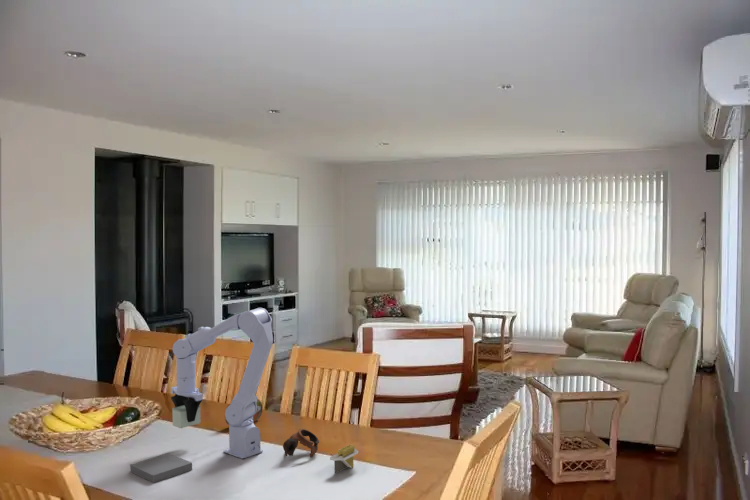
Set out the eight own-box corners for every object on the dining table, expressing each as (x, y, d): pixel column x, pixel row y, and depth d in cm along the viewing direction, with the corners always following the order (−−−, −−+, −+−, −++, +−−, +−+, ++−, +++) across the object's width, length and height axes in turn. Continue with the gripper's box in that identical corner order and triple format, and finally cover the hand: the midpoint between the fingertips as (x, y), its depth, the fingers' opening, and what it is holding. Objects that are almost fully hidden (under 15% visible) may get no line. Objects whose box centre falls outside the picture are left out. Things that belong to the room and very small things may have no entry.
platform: (380, 465, 180) (380, 443, 180) (343, 486, 165) (343, 462, 165) (347, 457, 187) (347, 435, 187) (308, 477, 172) (308, 453, 172)
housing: (200, 423, 196) (200, 405, 196) (180, 428, 191) (180, 410, 191) (192, 420, 199) (192, 403, 199) (172, 425, 194) (172, 407, 194)
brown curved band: (294, 448, 195) (307, 426, 194) (314, 467, 190) (327, 445, 189) (269, 449, 185) (283, 426, 184) (289, 470, 180) (304, 446, 179)
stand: (192, 469, 176) (192, 462, 176) (153, 482, 167) (153, 475, 167) (168, 459, 184) (168, 453, 184) (130, 471, 174) (130, 464, 174)
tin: (229, 430, 211) (228, 405, 211) (223, 428, 213) (223, 403, 213) (263, 419, 223) (263, 396, 223) (257, 417, 225) (257, 394, 225)
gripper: (210, 377, 193) (211, 421, 193) (184, 371, 202) (184, 412, 203) (191, 381, 187) (191, 426, 188) (164, 374, 197) (165, 417, 197)
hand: (186, 419), depth 195 cm, fingers closed on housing, 4 cm apart
